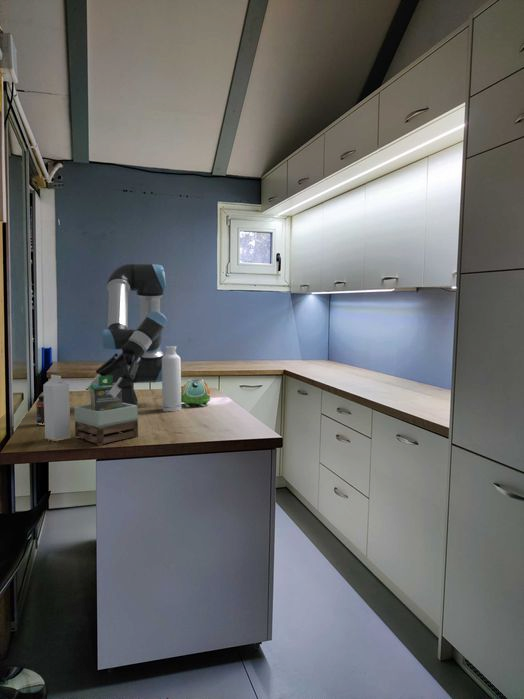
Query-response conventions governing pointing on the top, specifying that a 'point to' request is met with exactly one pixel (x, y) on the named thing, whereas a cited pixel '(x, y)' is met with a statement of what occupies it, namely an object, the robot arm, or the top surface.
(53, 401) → the milk
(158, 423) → the top surface
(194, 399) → the turtle holder
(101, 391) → the chalk box
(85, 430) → the lower crate
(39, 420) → the supplement bottle
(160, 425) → the top surface
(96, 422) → the box
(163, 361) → the bottle
